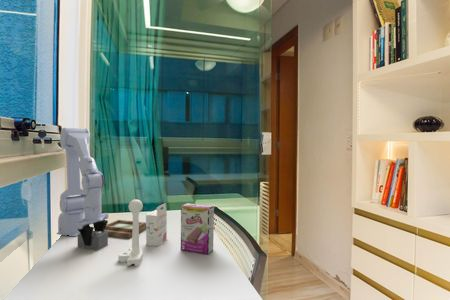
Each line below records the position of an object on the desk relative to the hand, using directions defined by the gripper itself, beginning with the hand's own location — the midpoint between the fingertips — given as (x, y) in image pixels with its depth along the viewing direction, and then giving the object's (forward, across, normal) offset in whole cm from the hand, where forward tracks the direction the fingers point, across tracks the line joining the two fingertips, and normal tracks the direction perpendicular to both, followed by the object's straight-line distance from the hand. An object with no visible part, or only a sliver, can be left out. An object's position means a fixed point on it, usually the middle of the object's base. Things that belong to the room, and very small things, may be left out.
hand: (93, 242), depth 105 cm
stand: (+1, +18, -1) cm, 18 cm away
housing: (+2, 0, 0) cm, 2 cm away
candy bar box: (+2, +8, -38) cm, 39 cm away
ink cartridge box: (+2, +11, -20) cm, 23 cm away
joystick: (+2, -6, -20) cm, 21 cm away
